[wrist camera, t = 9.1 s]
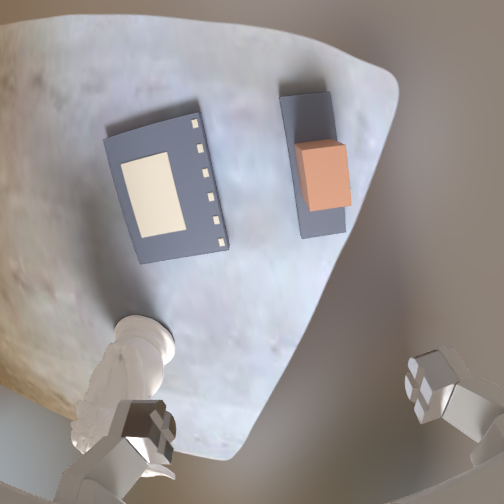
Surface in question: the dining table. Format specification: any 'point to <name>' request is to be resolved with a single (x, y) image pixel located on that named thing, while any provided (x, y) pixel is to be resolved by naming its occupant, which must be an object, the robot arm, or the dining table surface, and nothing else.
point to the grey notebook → (168, 189)
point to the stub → (316, 164)
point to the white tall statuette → (124, 380)
